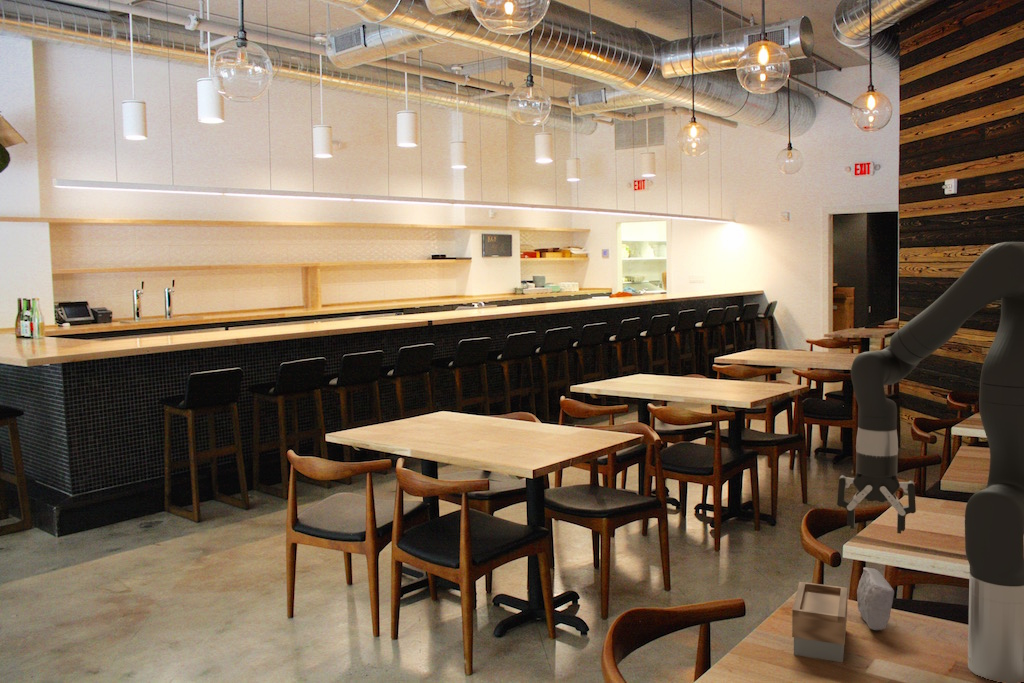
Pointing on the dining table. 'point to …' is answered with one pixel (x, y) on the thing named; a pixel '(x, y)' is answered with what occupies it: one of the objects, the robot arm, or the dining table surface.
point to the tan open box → (820, 613)
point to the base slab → (818, 649)
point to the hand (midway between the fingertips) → (875, 530)
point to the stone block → (874, 598)
